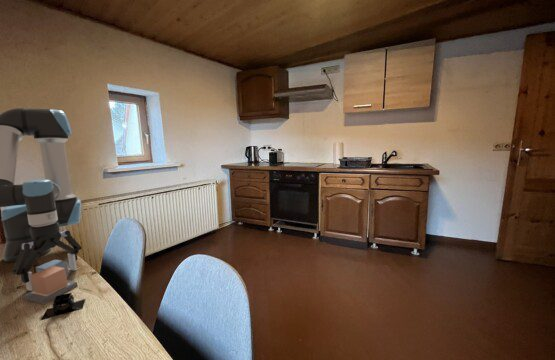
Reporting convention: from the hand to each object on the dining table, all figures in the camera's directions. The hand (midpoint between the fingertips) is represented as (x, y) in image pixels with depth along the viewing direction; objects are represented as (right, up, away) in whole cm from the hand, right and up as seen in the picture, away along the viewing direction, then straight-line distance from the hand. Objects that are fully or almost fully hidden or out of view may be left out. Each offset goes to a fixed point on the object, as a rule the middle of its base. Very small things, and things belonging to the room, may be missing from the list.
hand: (53, 279), depth 90 cm
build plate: (+18, -3, -16) cm, 24 cm away
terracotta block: (+7, 0, -8) cm, 10 cm away
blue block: (0, 0, 0) cm, 0 cm away
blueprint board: (+6, -1, -8) cm, 10 cm away
